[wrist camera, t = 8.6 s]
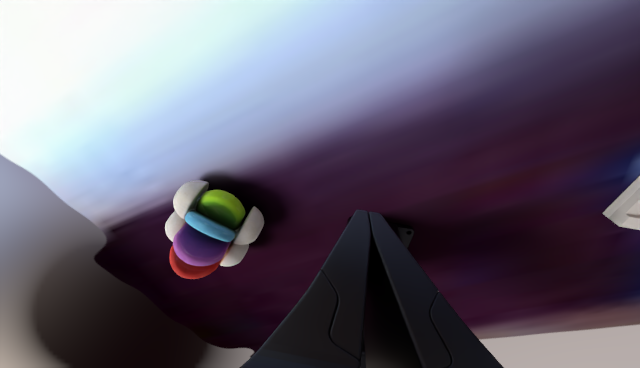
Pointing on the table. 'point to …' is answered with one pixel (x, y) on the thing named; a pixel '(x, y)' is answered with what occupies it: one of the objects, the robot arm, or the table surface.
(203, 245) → the multicoloured layered toy figurine
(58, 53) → the table surface
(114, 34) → the table surface
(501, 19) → the table surface
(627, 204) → the tray
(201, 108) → the table surface
